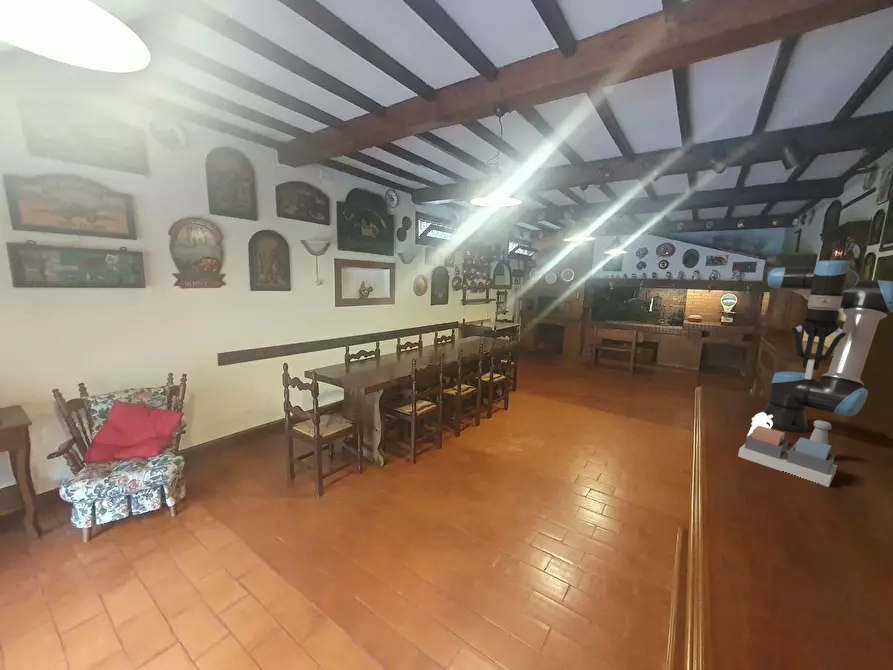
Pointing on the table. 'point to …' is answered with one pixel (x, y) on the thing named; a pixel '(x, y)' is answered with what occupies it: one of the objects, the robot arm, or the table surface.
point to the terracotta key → (768, 435)
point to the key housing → (789, 460)
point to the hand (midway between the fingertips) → (808, 378)
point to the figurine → (761, 421)
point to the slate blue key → (813, 448)
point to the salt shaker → (821, 431)
